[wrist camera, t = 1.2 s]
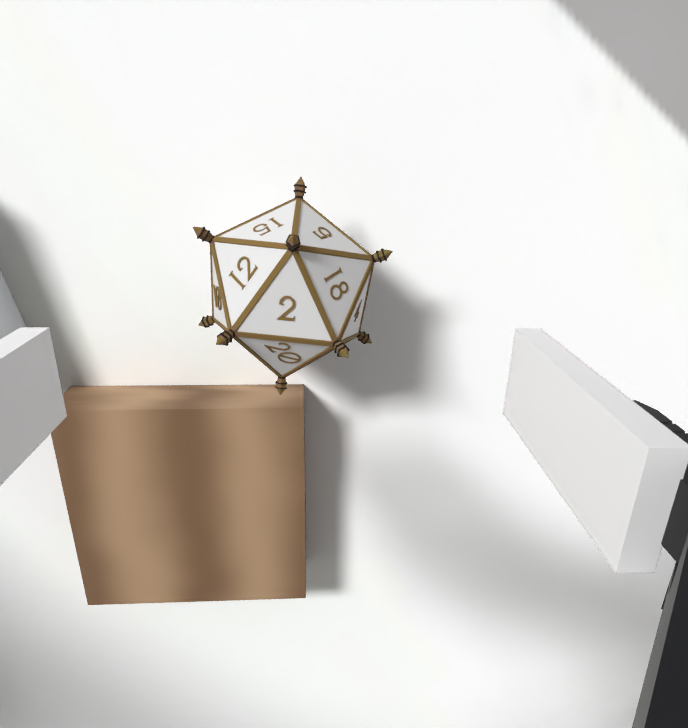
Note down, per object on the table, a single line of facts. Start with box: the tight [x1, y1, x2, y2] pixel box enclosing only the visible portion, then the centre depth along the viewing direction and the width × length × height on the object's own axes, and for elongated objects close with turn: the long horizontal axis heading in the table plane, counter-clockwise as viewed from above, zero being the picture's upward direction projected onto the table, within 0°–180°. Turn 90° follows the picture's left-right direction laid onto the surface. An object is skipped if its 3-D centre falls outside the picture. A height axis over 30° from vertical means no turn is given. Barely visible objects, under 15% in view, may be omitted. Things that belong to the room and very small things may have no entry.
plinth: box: [51, 384, 306, 605], centre depth 31 cm, size 13×13×3 cm
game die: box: [193, 177, 392, 395], centre depth 24 cm, size 9×8×10 cm
